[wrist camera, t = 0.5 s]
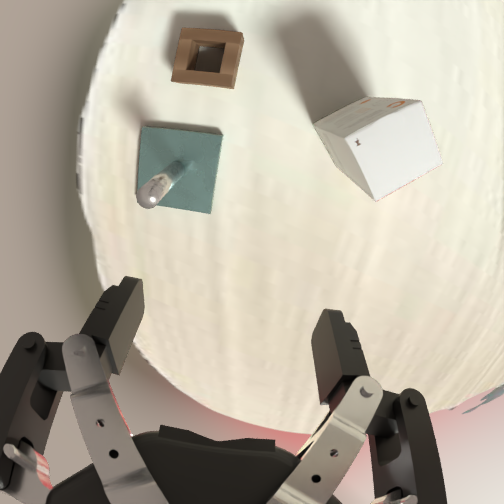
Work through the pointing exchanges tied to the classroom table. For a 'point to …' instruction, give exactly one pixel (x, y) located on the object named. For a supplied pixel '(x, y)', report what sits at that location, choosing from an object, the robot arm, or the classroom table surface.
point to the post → (178, 168)
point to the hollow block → (189, 53)
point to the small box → (381, 143)
